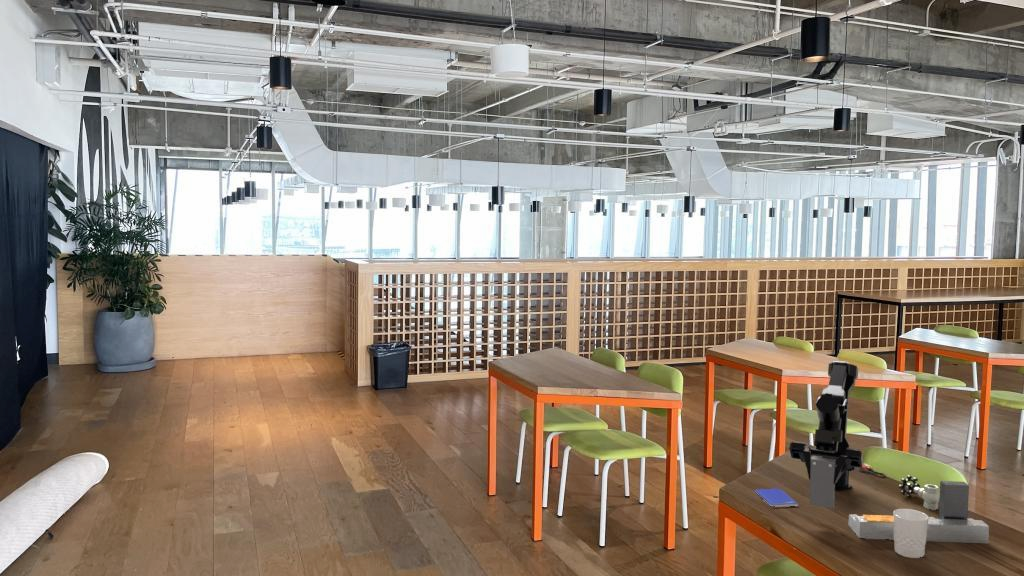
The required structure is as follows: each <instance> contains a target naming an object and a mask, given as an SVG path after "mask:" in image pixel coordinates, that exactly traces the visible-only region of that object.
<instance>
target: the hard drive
mask: <svg viewBox="0 0 1024 576" xmlns="http://www.w3.org/2000/svg"><path fill="white" fill-rule="evenodd" d="M755 492H756V493H757V494H758V495H760V496H761V497H762V498H763V499H764V500H765V501H766V502H767V503H768V504H769V505H770V506H775V507H774V508H787V507H788V508H789V507H790V506H795V507H799V503H798V502H797V501H795V500H794V499H793V498H792V497H791V496H789V495H788V494H787V493H786V492H785V491H784V490H782V489H781V488H762V489H761V488H760V489H755V490H754V493H755ZM756 493H755V494H756ZM757 494H756V495H757ZM758 495H757V496H758ZM764 500H763V501H764ZM765 501H764V502H765ZM766 502H765V503H766ZM767 503H766V504H767ZM768 504H767V505H768ZM769 505H768V506H769ZM770 506H769V507H770Z"/></svg>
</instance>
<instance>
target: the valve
mask: <svg viewBox="0 0 1024 576" xmlns="http://www.w3.org/2000/svg"><path fill="white" fill-rule="evenodd" d="M918 480H919V479H918V478H917V477H913V476H912V475H909V474H908V475H907V476H906V478H904V477H902V478H901V479H900V481H901V482H902V484H899V485H898V489H901V491H900V495H903V496H905V495H906V497H907V498H911V497H912V495H913V494H914V495H918V497H919V498H921V499H923V508H924V507H925V508H924V509H926V508H927V509H926V510H929V509H931V510H929V511H937V510H939V501H940V486H938V485H934V484H930V483H929V484H927V483H926V484H925V485H924V486H923V487H922V488H920V487H921V485H920V484H919V483H917V482H918ZM909 482H911V483H909ZM906 488H907V489H908V490H906ZM936 509H937V510H936Z"/></svg>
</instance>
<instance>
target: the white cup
mask: <svg viewBox="0 0 1024 576" xmlns="http://www.w3.org/2000/svg"><path fill="white" fill-rule="evenodd" d="M892 513H893V514H892V516H893V532H894V540H893V542H894V543H893V544H894V545H893V546H894V547H893V548H894V552H895V553H896V554H898V555H900V556H902V557H905V558H911V559H920V557H921V558H923V557H925V551H926V544H927V541H926V537H927V527H928V517H929V515H927V514H926V513H925V512H922V511H920V510H915V509H912V508H897V509H894V510H893V512H892Z"/></svg>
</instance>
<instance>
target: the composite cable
mask: <svg viewBox="0 0 1024 576" xmlns="http://www.w3.org/2000/svg"><path fill="white" fill-rule="evenodd" d="M858 472H862V473H865V474H869V473H872V474H875V475H877V474H880V475H884V476H886V477H887V475H886V474H885V473H883V472H878V471H875V470H874V468H873V467H872V465H870V464H867V463H865V462H863V464H862V467H861V468H858ZM872 474H871V475H872ZM875 475H874V476H875ZM878 476H879V475H878ZM878 476H877V477H878ZM884 476H880V477H879V478H881V477H884Z"/></svg>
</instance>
